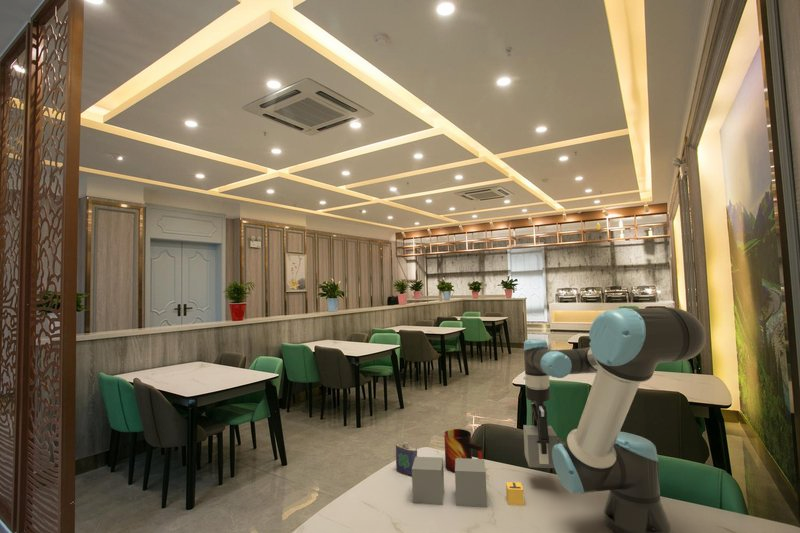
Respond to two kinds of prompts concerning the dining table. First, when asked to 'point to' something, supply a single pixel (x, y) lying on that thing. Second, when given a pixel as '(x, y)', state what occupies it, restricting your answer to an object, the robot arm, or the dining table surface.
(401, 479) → the dining table surface
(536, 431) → the pale grey cube
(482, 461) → the pale gray cube
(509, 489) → the letter cube
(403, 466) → the flask
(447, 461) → the mug
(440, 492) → the large plain grey block
